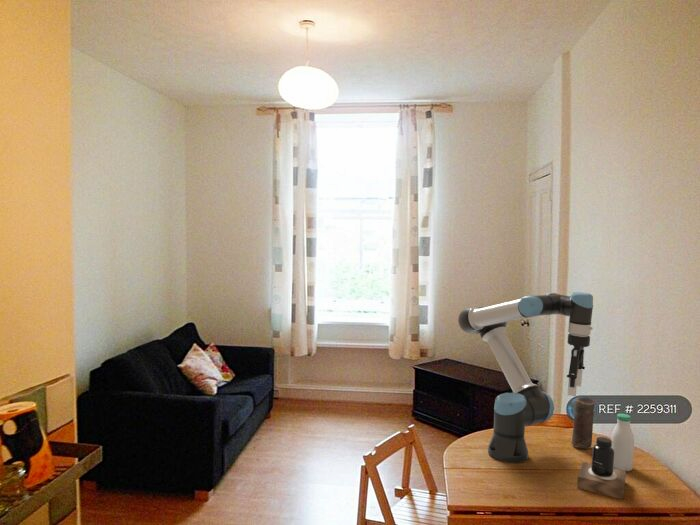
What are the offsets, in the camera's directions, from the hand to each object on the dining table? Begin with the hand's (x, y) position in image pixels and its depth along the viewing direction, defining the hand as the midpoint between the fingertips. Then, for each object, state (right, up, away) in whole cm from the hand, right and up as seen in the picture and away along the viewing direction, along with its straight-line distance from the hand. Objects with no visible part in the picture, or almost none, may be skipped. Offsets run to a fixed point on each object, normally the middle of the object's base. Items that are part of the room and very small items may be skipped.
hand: (574, 390), depth 195 cm
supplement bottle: (+4, -26, -12) cm, 29 cm away
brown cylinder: (+12, -29, +20) cm, 37 cm away
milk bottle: (+19, -30, +3) cm, 35 cm away
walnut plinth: (+4, -30, -12) cm, 33 cm away
